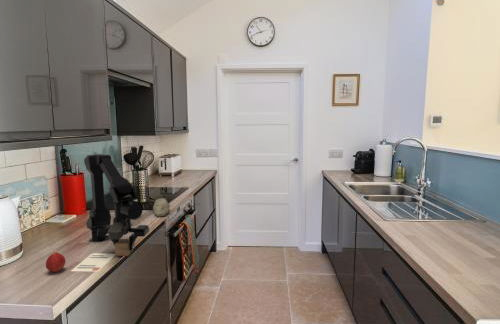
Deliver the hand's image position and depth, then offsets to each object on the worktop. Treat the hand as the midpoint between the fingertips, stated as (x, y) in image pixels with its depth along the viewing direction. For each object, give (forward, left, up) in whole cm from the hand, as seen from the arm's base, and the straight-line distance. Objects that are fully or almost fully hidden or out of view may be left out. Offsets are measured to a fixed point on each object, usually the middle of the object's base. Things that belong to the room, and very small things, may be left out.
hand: (124, 250), depth 113 cm
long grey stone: (-64, -5, -3) cm, 64 cm away
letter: (+6, -9, -2) cm, 11 cm away
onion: (+13, -19, -2) cm, 23 cm away
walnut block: (0, 0, -1) cm, 1 cm away
